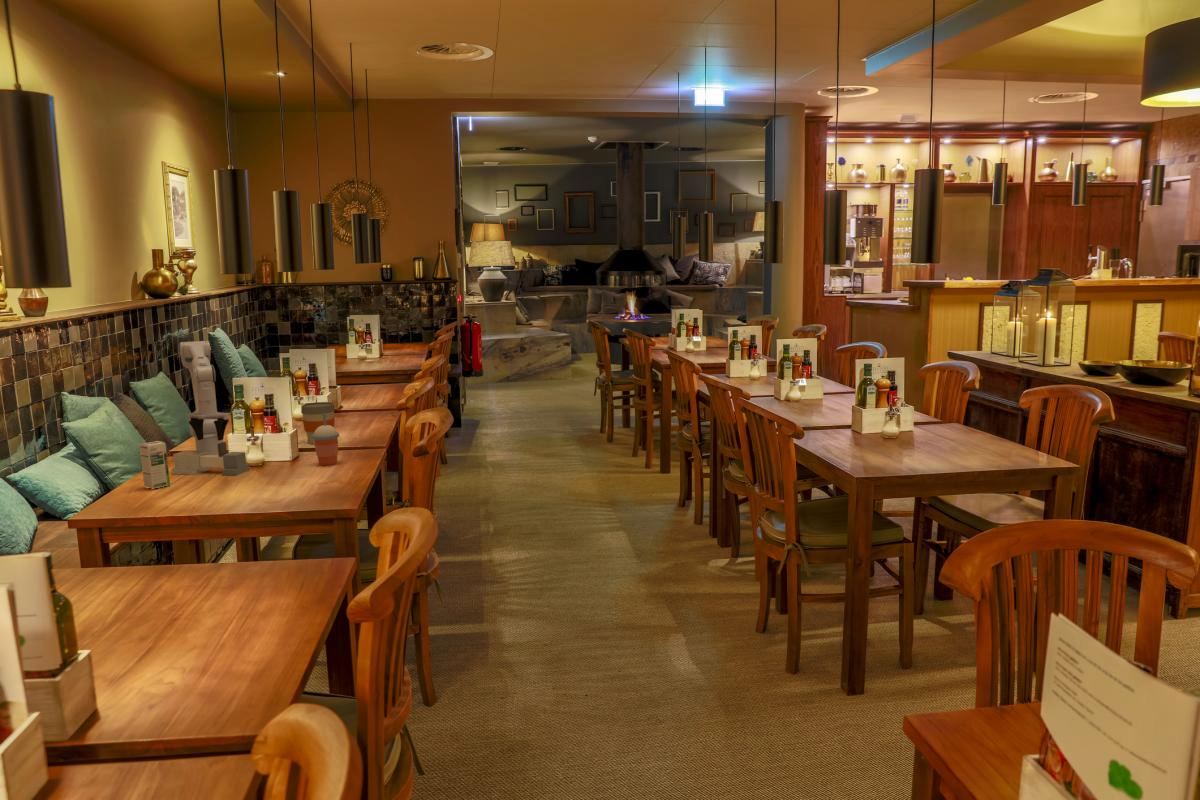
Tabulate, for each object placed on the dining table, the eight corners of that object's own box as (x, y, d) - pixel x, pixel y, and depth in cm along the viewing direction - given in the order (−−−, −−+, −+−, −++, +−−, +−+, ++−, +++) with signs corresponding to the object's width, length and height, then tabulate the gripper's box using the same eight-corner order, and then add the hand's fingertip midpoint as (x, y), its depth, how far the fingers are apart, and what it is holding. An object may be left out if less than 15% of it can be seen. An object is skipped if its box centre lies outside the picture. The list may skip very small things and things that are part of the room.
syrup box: (152, 490, 277) (147, 445, 275) (143, 487, 281) (138, 443, 278) (170, 486, 282) (166, 442, 279) (161, 483, 285) (156, 440, 283)
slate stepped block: (222, 475, 295) (220, 456, 293) (235, 469, 302) (234, 450, 301) (235, 475, 294) (233, 456, 293) (249, 469, 301) (247, 451, 300)
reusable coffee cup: (304, 440, 350) (301, 403, 347) (336, 437, 353) (334, 401, 351) (303, 446, 338) (300, 408, 336) (337, 443, 342) (334, 405, 339)
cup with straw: (336, 466, 303) (332, 415, 301) (310, 466, 304) (306, 415, 301) (344, 460, 312) (341, 410, 310) (319, 460, 313) (315, 411, 310)
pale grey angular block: (196, 466, 298) (194, 443, 297) (203, 464, 302) (200, 441, 300) (234, 467, 296) (232, 444, 295) (240, 464, 299) (238, 442, 298)
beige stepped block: (172, 474, 298) (170, 455, 297) (187, 468, 306) (185, 450, 304) (196, 474, 296) (194, 455, 295) (210, 469, 304) (209, 450, 303)
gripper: (180, 402, 297) (184, 441, 299) (219, 402, 295) (222, 442, 297) (193, 399, 304) (197, 437, 306) (231, 399, 302) (235, 438, 304)
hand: (210, 439), depth 302 cm, fingers open, 7 cm apart
